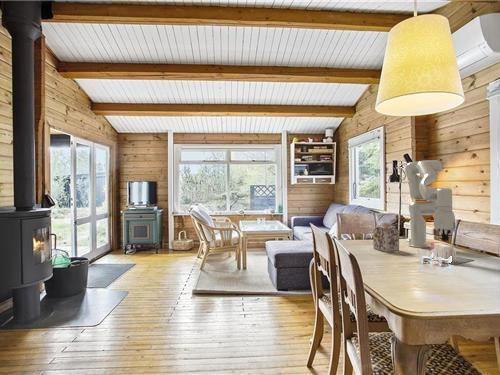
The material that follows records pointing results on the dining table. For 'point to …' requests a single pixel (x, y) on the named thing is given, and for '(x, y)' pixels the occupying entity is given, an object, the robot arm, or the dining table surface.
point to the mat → (460, 260)
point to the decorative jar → (386, 238)
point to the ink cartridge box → (443, 251)
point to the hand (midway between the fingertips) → (445, 240)
